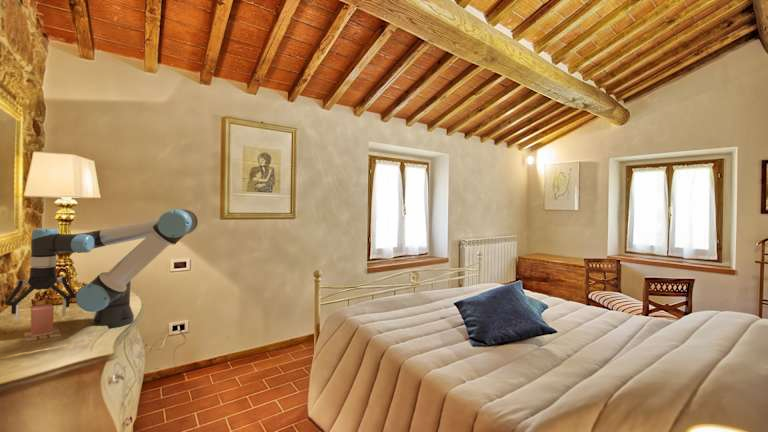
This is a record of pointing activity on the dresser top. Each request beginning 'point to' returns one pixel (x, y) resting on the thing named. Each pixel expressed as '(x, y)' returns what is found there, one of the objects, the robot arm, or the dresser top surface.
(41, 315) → the sanding block
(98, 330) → the dresser top surface
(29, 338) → the board
